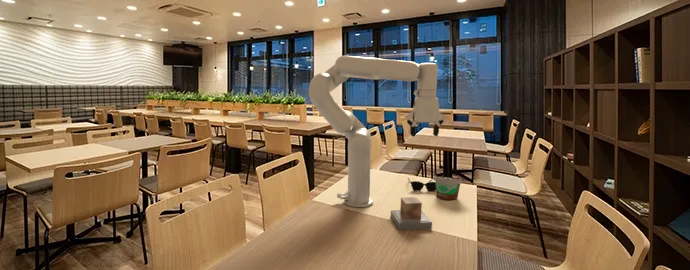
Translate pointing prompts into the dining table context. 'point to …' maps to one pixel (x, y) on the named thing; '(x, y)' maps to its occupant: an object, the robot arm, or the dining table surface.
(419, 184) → the sunglasses
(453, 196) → the food container
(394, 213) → the tray
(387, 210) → the dining table surface
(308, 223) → the dining table surface
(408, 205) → the cube
